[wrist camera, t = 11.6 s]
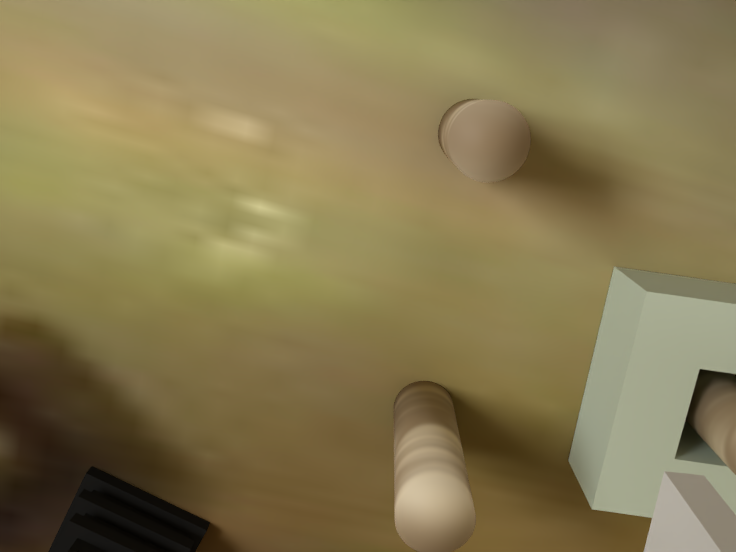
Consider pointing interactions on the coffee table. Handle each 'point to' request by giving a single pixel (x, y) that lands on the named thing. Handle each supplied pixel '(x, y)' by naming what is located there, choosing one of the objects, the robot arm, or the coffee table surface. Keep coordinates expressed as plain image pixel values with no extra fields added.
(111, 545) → the chess piece
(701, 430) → the pin long
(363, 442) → the coffee table surface
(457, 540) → the pin medium
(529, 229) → the coffee table surface
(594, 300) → the coffee table surface
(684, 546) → the robot arm
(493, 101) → the pin short
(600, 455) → the collar block
